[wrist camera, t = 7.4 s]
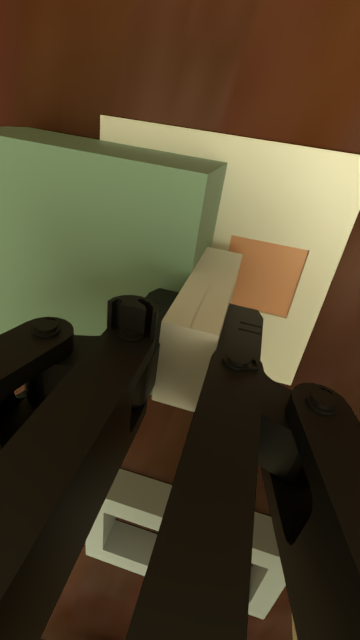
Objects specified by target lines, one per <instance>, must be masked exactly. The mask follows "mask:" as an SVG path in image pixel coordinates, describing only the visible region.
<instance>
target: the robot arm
mask: <svg viewBox="0 0 360 640" xmlns="http://www.w3.org/2000/svg"><path fill="white" fill-rule="evenodd" d="M242 255H243V254H239V253H234V252H230V251H225V250H220V249H216V248H211V247H207V248H206V250H205V252H204V253H203V255H202V257H201V258H200V260H199V261H198V263H197V265H196V266H195V268H194V269H193V271H192V273H191V274H190V276H189V278H188V279H187V281H186V282H185V284H184V286H183V287H182V289H181V290H180V292H175V291H171V290H166V289H162V288H158V289H156V290H154V291H151V292H149V293H148V295H147V296H146V297H142V296H137V295H121V296H117V297H113V298H112V299H110V300H108V302H107V329H106V330H105V331H104V332H103V333H102V334H101V335H100V336H86V335H74V328H73V326H72V324H71V323H70V322H68V321H67V320H65V319H61V318H58V317H41V318H35V319H32V320H30V321H27V322H25V323H23V324H21V325H19V326H17V327H15V328H13V329H11V330H9V331H7V332H4V333H2V334H0V640H40V638H41V635H42V633H43V631H44V629H45V627H46V625H47V623H48V620H49V618H50V616H51V614H52V612H53V610H54V608H55V606H56V603H57V601H58V599H59V597H60V595H61V593H62V591H63V588H64V586H65V584H66V582H67V580H68V578H69V576H70V574H71V571H72V569H73V567H74V565H75V563H76V561H77V559H78V556H79V554H80V552H81V550H82V548H83V546H84V544H85V542H86V539H87V537H88V535H89V533H90V531H91V529H92V527H93V524H94V522H95V520H96V518H97V516H98V514H99V512H100V509H101V507H102V505H103V503H104V501H105V499H106V497H107V495H108V492H109V490H110V488H111V486H112V484H113V482H114V480H115V477H116V475H117V473H118V471H119V469H120V467H121V465H122V463H123V460H124V458H125V456H126V454H127V452H128V450H129V448H130V445H131V443H132V441H133V439H134V437H135V435H136V433H137V431H138V428H139V426H140V424H141V422H142V420H143V418H144V416H145V413H146V409H147V401H148V397H149V395H150V393H151V391H152V389H153V393H152V400H154V401H157V402H161V403H164V404H168V405H171V406H174V407H178V408H181V409H185V410H188V411H192V412H194V415H193V419H192V422H191V425H190V429H189V432H188V435H187V438H186V442H185V445H184V448H183V452H182V455H181V458H180V462H179V465H178V468H177V472H176V475H175V478H174V481H173V485H172V488H171V491H170V495H169V498H168V501H167V505H166V508H165V511H164V514H163V518H162V521H161V524H160V528H159V531H158V534H157V538H156V541H155V544H154V548H153V551H152V554H151V557H150V561H149V564H148V567H147V571H146V574H145V577H144V581H143V584H142V587H141V590H140V594H139V597H138V600H137V604H136V607H135V610H134V614H133V617H132V620H131V624H130V627H129V630H128V633H127V637H126V640H246V639H247V624H248V608H249V593H250V577H251V561H252V546H253V530H254V515H255V499H256V483H257V468H258V465H259V466H260V467H262V477H263V481H264V486H265V491H266V495H267V500H268V505H269V509H270V514H271V518H272V523H273V528H274V532H275V537H276V542H277V546H278V551H279V556H280V560H281V565H282V570H283V574H284V579H285V583H286V588H287V593H288V597H289V602H290V607H291V611H292V616H293V621H294V625H295V630H296V635H297V639H298V640H360V423H359V421H358V419H357V418H356V416H355V414H354V412H353V411H352V409H351V407H350V406H349V404H348V403H347V402H346V401H345V399H344V398H343V397H341V396H340V395H339V394H337V393H336V392H335V391H333V390H331V389H329V388H327V387H325V386H322V385H318V384H314V383H302V384H300V385H297V386H295V388H294V389H293V391H292V390H290V389H288V388H286V387H284V386H282V385H280V384H278V383H276V382H275V381H273V380H272V379H271V378H270V377H268V376H267V375H266V373H265V372H264V368H263V364H262V362H261V361H260V358H261V345H262V332H263V317H262V316H261V314H260V312H259V311H258V310H255V309H251V308H247V307H243V306H238V305H234V304H231V301H232V297H233V292H234V288H235V284H236V280H237V276H238V272H239V268H240V263H241V259H242ZM22 385H25V390H24V391H23V392H22V393H19V394H17V395H15V394H14V391H15V390H16V389H18V388H19V387H21V386H22Z"/></svg>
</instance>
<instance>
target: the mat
mask: <svg viewBox="0 0 360 640" xmlns="http://www.w3.org/2000/svg"><path fill="white" fill-rule="evenodd" d="M100 140H103V141H109V142H114V143H120V144H125V145H131V146H137V147H142V148H148V149H154V150H159V151H165V152H170V153H176V154H182V155H187V156H193V157H199V158H204V159H210V160H215V161H221V162H227V169H226V174H225V179H224V184H223V189H222V195H221V200H220V205H219V210H218V215H217V221H216V226H215V231H214V236H213V241H212V246H211V248H216V249H220V250H225V251H230V252H234V253H239V254H243V255H242V259H241V263H240V268H239V272H238V276H237V280H236V284H235V288H234V292H233V297H232V301H231V304H234V305H238V306H243V307H247V308H251V309H255V310H258V311H259V312H260V314H261V316H262V317H263V332H262V345H261V358H260V361H261V362H262V364H263V368H264V372H265V373H266V375H267V376H268V377H270V378H271V379H272V380H273V381H275V382H279V383H283V384H287V385H291V383H292V381H293V378H294V376H295V373H296V371H297V368H298V365H299V363H300V360H301V358H302V355H303V353H304V350H305V348H306V345H307V342H308V340H309V337H310V335H311V332H312V330H313V327H314V325H315V322H316V320H317V317H318V314H319V312H320V309H321V307H322V304H323V302H324V299H325V297H326V294H327V291H328V289H329V286H330V284H331V281H332V279H333V276H334V274H335V271H336V269H337V266H338V263H339V261H340V258H341V256H342V253H343V251H344V248H345V246H346V243H347V241H348V238H349V235H350V233H351V230H352V228H353V225H354V223H355V220H356V218H357V215H358V212H359V210H360V155H358V154H351V153H345V152H338V151H332V150H325V149H319V148H313V147H306V146H300V145H293V144H287V143H280V142H274V141H267V140H261V139H254V138H248V137H241V136H235V135H229V134H222V133H216V132H209V131H203V130H196V129H190V128H183V127H177V126H170V125H164V124H157V123H151V122H145V121H138V120H132V119H125V118H119V117H112V116H106V115H100Z"/></svg>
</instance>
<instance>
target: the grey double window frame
mask: <svg viewBox="0 0 360 640" xmlns="http://www.w3.org/2000/svg"><path fill="white" fill-rule="evenodd" d="M171 488H172V485H170V484H167V483H164V482H161V481H158V480H154V479H151V478H148V477H145V476H142V475H139V474H136V473H133V472H130V471H126V470H123V469H119V471H118V473H117V475H116V477H115V480H114V482H113V484H112V486H111V488H110V490H109V492H108V495H107V497H106V499H105V501H104V503H103V505H102V507H101V509H100V512H99V514H98V516H97V518H96V520H95V522H94V524H93V527H92V529H91V531H90V533H89V535H88V537H87V539H86V555H88V556H91V557H94V558H96V559H99V560H102V561H104V562H107V563H110V564H113V565H115V566H118V567H121V568H124V569H126V570H129V571H132V572H134V573H137V574H140V575H143V576H145V574H146V571H147V567H148V564H149V561H150V557H151V554H152V551H153V548H154V544H155V541H156V538H157V534H155V533H152V532H149V531H146V530H143V529H140V528H138V527H135V526H132V525H129V524H126V523H123V522H120V521H117V520H115V517H118V518H121V519H124V520H127V521H130V522H133V523H136V524H139V525H142V526H145V527H148V528H150V529H153V530H156V531H159V528H160V524H161V521H162V518H163V514H164V511H165V508H166V505H167V501H168V498H169V495H170V491H171ZM251 563H252V564H253V566H252V567H251V577H250V593H249V608H248V614H249V615H252V616H254V617H257V618H260V619H263V620H264V619H265V617H266V615H267V614H268V612H269V611H270V609H271V608H272V606H273V604H274V603H275V601H276V600H277V598H278V597H279V595H280V593H281V592H282V590H283V589H284V587H285V586H286V583H285V579H284V574H283V570H282V565H281V560H280V556H279V551H278V546H277V542H276V537H275V532H274V528H273V523H272V518H271V517H270V516H267V515H264V514H261V513H258V512H255V515H254V530H253V546H252V561H251Z"/></svg>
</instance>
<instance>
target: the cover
mask: <svg viewBox="0 0 360 640" xmlns="http://www.w3.org/2000/svg"><path fill="white" fill-rule="evenodd" d="M226 169H227V162H221V161H215V160H210V159H204V158H199V157H193V156H187V155H182V154H176V153H170V152H165V151H159V150H154V149H148V148H142V147H137V146H131V145H125V144H120V143H114V142H109V141H103V140H97V139H92V138H86V137H80V136H75V135H69V134H64V133H58V132H52V131H47V130H41V129H36V128H30V127H1V126H0V334H2V333H4V332H7V331H9V330H11V329H13V328H15V327H17V326H19V325H21V324H23V323H25V322H27V321H30V320H32V319H35V318H41V317H58V318H61V319H65V320H67V321H68V322H70V323H71V324H72V326H73V328H74V335H86V336H100V335H101V334H102V333H103V332H104V331H105V330H106V329H107V302H108V300H110V299H112V298H113V297H117V296H121V295H137V296H142V297H146V296H147V295H148V293H149V292H151V291H154V290H156V289H158V288H162V289H166V290H171V291H175V292H180V290H181V289H182V287H183V286H184V284H185V282H186V281H187V279H188V278H189V276H190V274H191V273H192V271H193V269H194V268H195V266H196V265H197V263H198V261H199V260H200V258H201V257H202V255H203V253H204V252H205V250H206V248H207V247H211V246H212V241H213V236H214V231H215V226H216V221H217V215H218V210H219V205H220V200H221V195H222V189H223V184H224V179H225V174H226ZM152 393H153V389H152V391H151V393H150V395H152Z"/></svg>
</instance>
